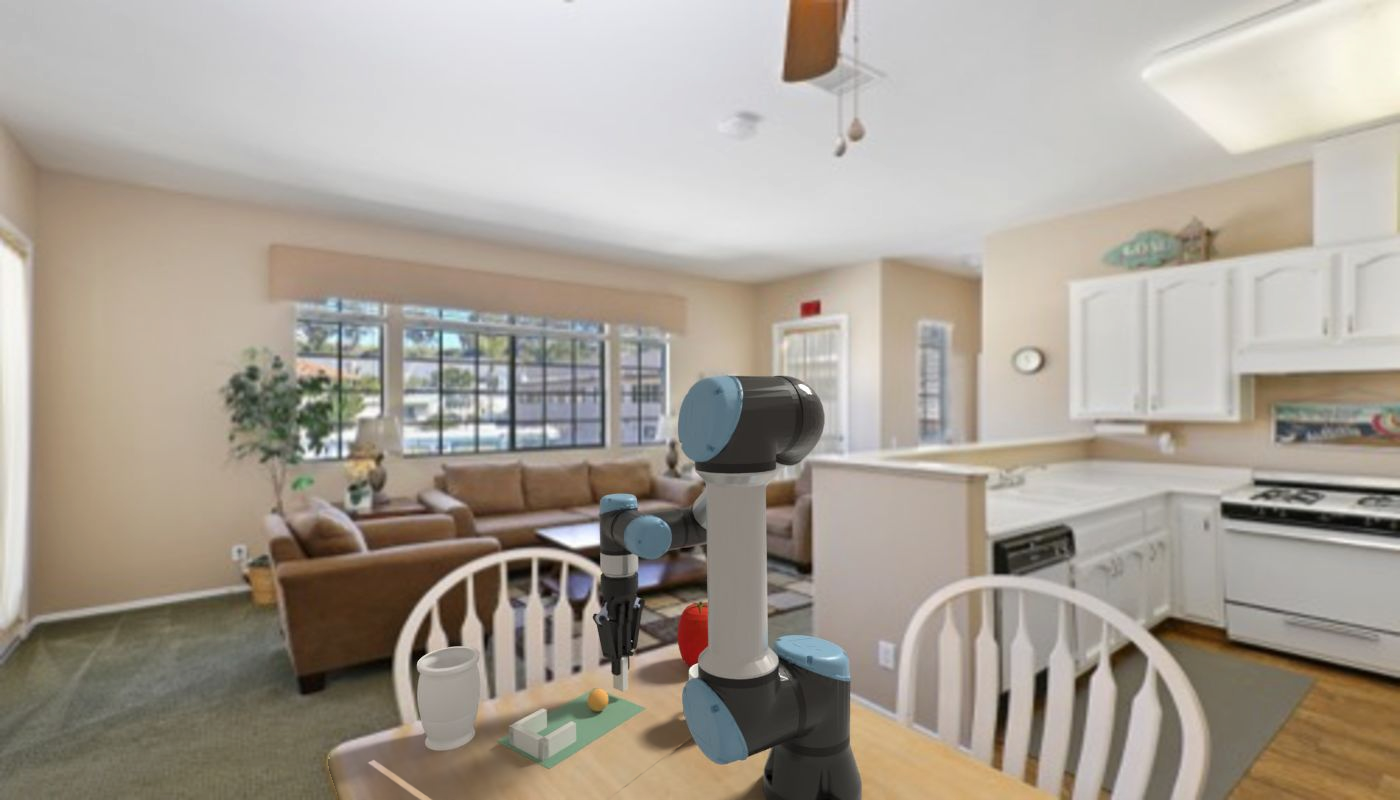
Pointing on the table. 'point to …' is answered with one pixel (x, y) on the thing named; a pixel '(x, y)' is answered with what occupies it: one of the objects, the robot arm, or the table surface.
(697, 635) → the tomato
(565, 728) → the white c-shaped bracket
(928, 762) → the table surface
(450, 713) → the jar
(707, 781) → the table surface
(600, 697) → the ball
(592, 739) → the putting mat
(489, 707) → the table surface
